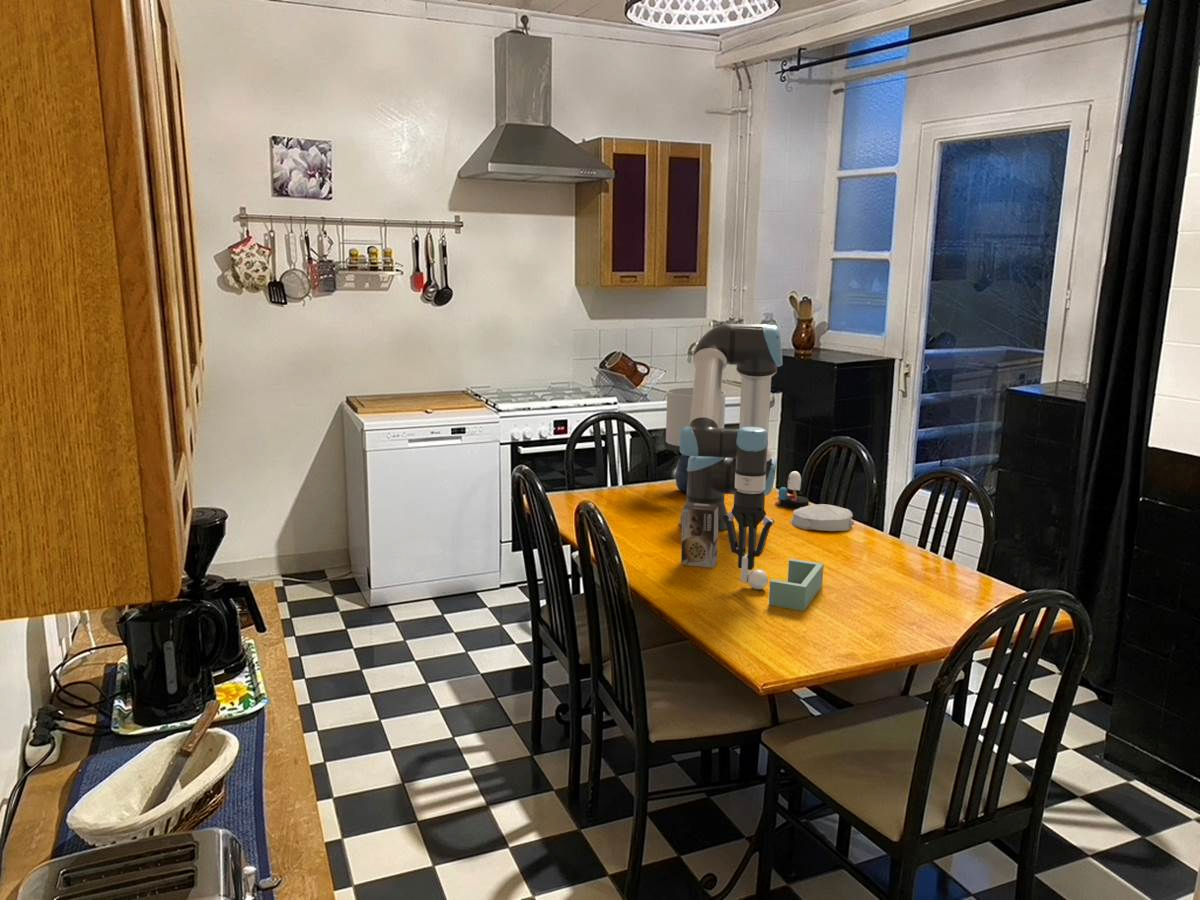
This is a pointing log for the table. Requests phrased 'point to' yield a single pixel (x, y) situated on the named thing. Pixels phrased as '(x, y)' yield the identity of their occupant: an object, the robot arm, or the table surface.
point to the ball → (758, 579)
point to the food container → (823, 518)
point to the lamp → (683, 425)
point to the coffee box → (700, 534)
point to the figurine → (793, 500)
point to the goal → (797, 585)
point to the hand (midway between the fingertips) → (745, 580)
